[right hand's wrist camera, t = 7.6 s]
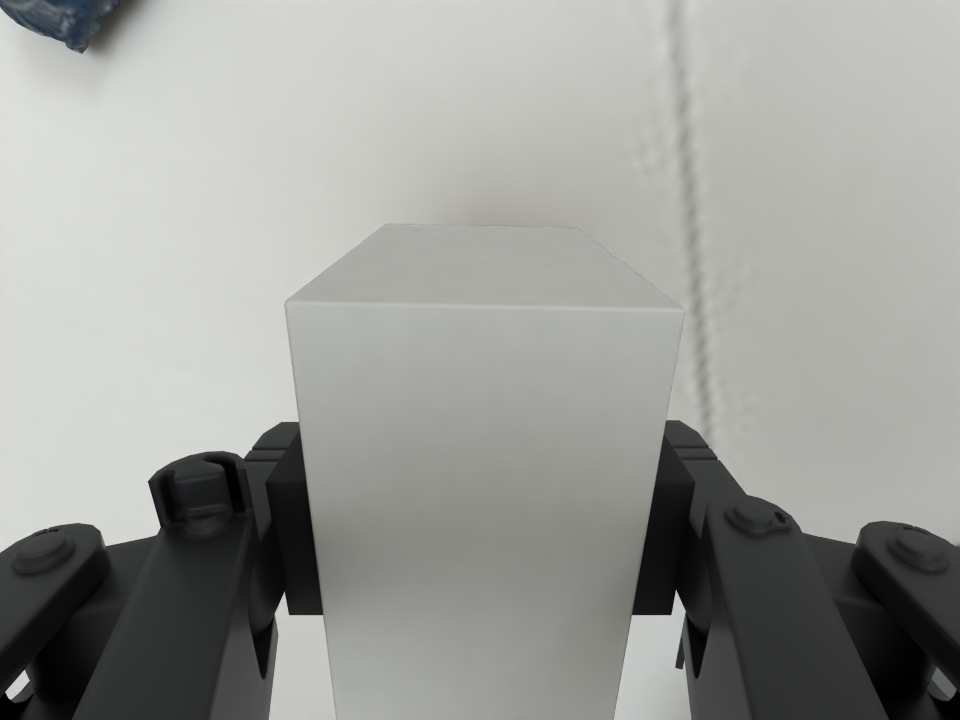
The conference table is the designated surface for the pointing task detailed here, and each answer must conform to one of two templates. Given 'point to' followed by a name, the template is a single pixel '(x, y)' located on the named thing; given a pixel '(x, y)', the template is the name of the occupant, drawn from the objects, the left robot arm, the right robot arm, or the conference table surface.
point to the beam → (480, 466)
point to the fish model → (61, 18)
